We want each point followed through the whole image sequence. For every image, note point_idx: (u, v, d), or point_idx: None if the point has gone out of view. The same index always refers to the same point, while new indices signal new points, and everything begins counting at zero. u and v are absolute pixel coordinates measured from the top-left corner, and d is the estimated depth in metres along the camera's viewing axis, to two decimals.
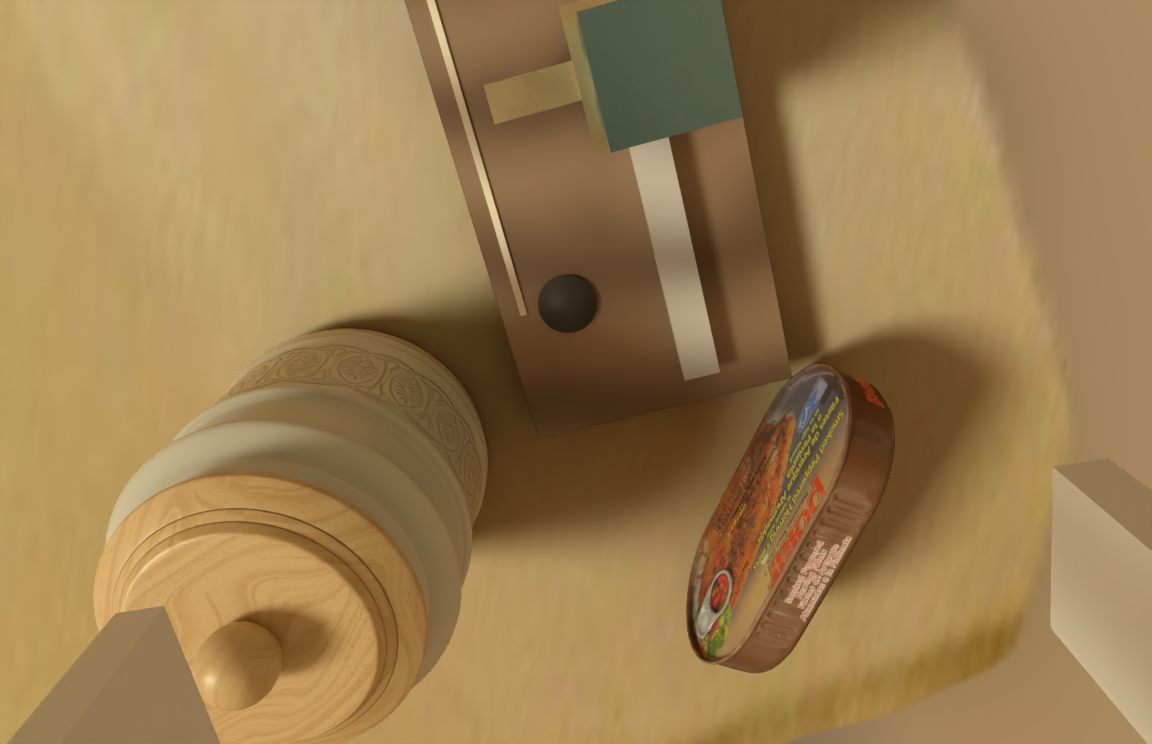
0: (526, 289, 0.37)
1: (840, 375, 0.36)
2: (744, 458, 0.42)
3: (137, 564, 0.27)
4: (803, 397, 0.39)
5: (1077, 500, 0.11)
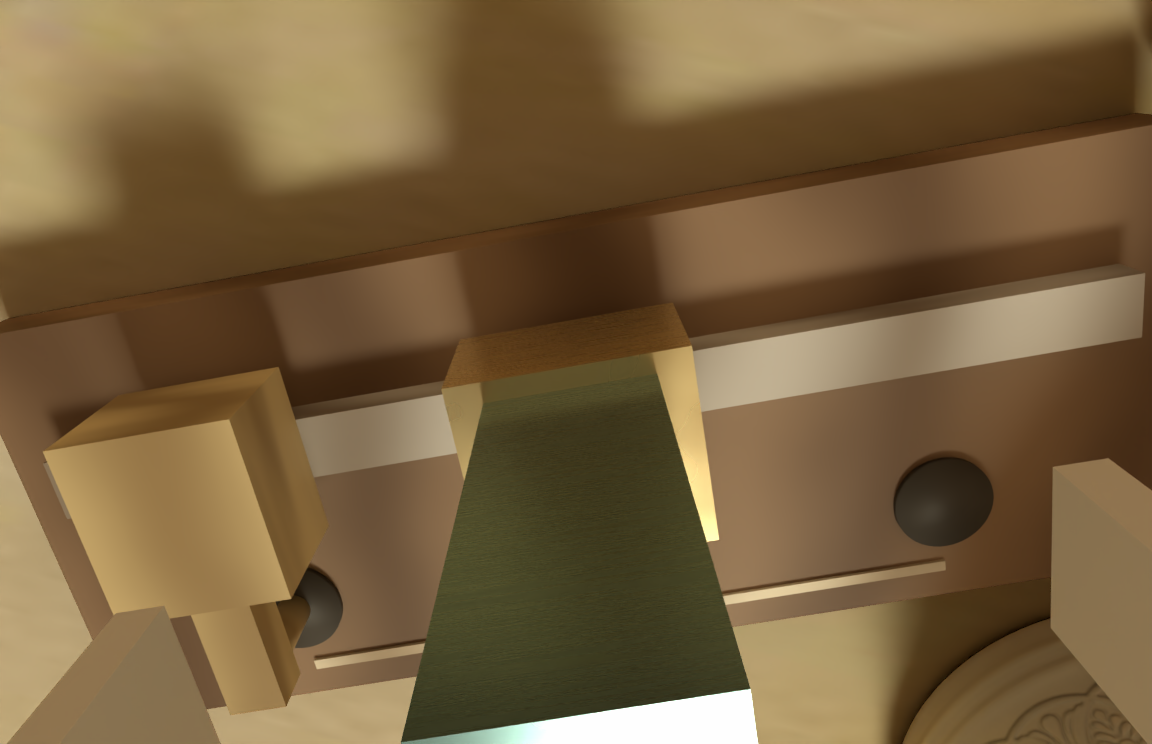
0: (904, 556, 0.24)
1: None
2: None
3: None
4: None
5: (1078, 500, 0.11)
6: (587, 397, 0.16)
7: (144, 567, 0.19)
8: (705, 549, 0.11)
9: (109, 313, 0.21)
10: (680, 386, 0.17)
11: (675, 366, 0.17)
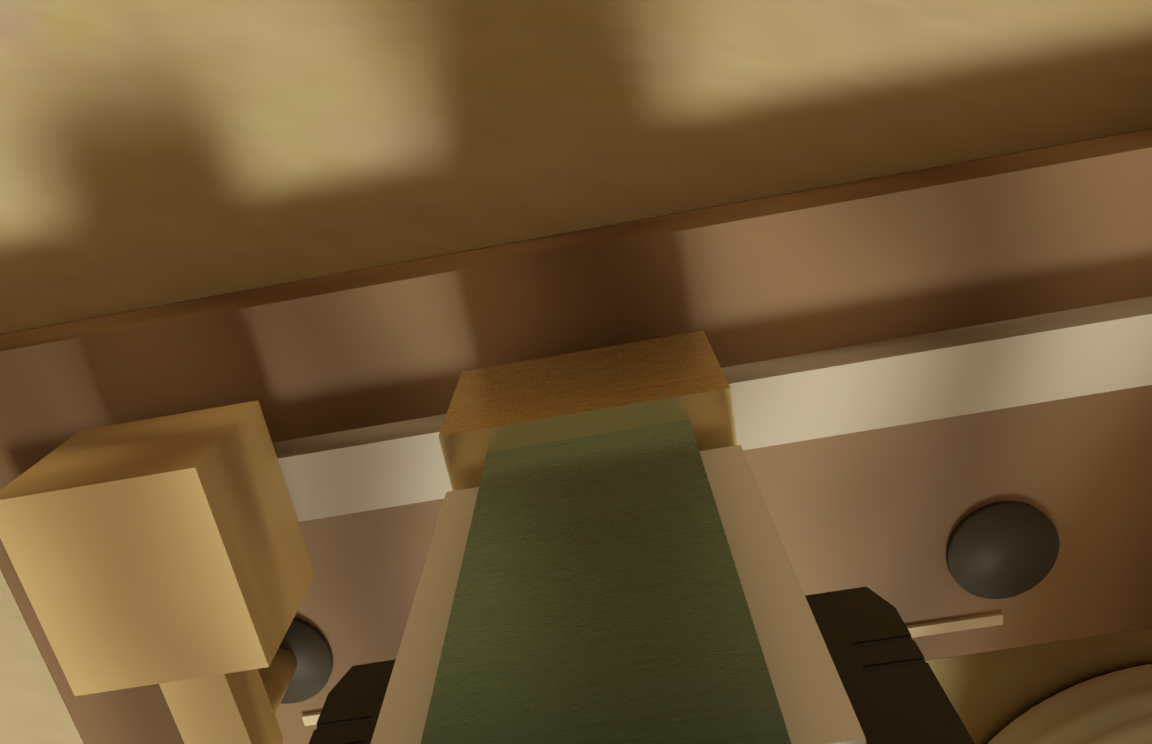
0: (956, 609, 0.21)
1: None
2: None
3: None
4: None
5: None
6: (608, 448, 0.14)
7: (102, 631, 0.16)
8: (766, 680, 0.08)
9: (71, 338, 0.19)
10: (715, 434, 0.15)
11: (711, 411, 0.14)
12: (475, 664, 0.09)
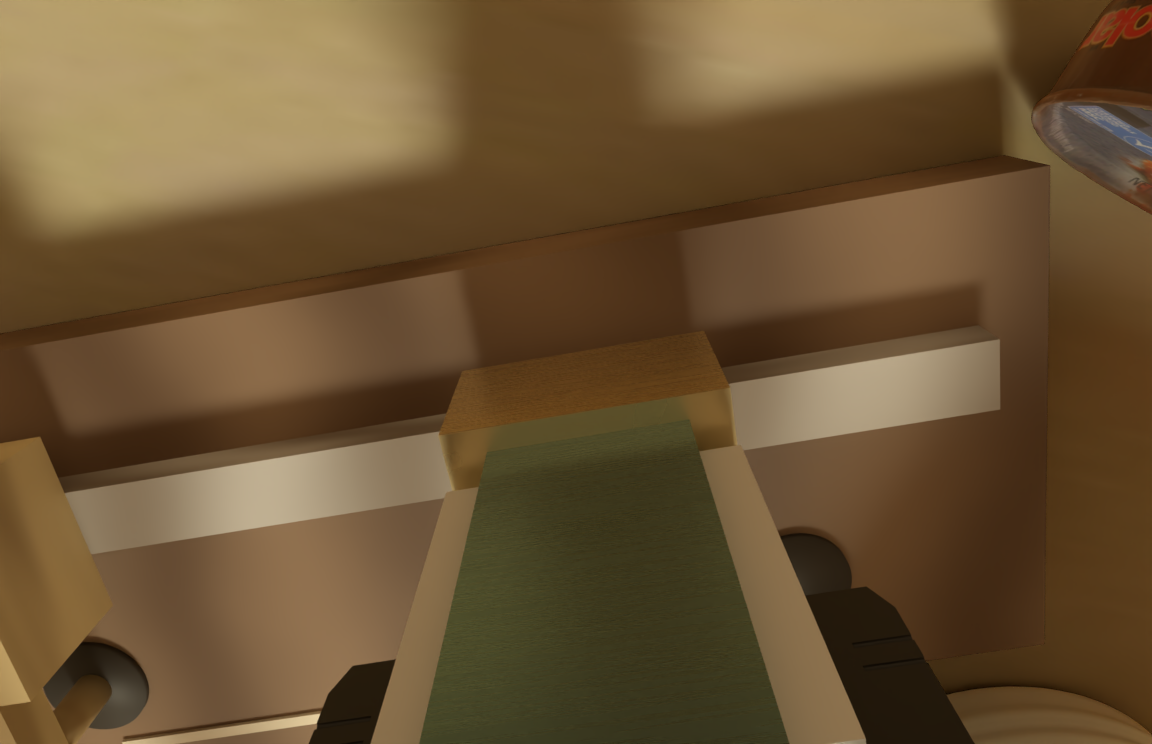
0: None
1: (1088, 97, 0.15)
2: None
3: None
4: (1104, 137, 0.17)
5: None
6: (608, 448, 0.14)
7: None
8: (765, 680, 0.08)
9: None
10: (715, 434, 0.14)
11: (710, 411, 0.14)
12: (474, 664, 0.09)
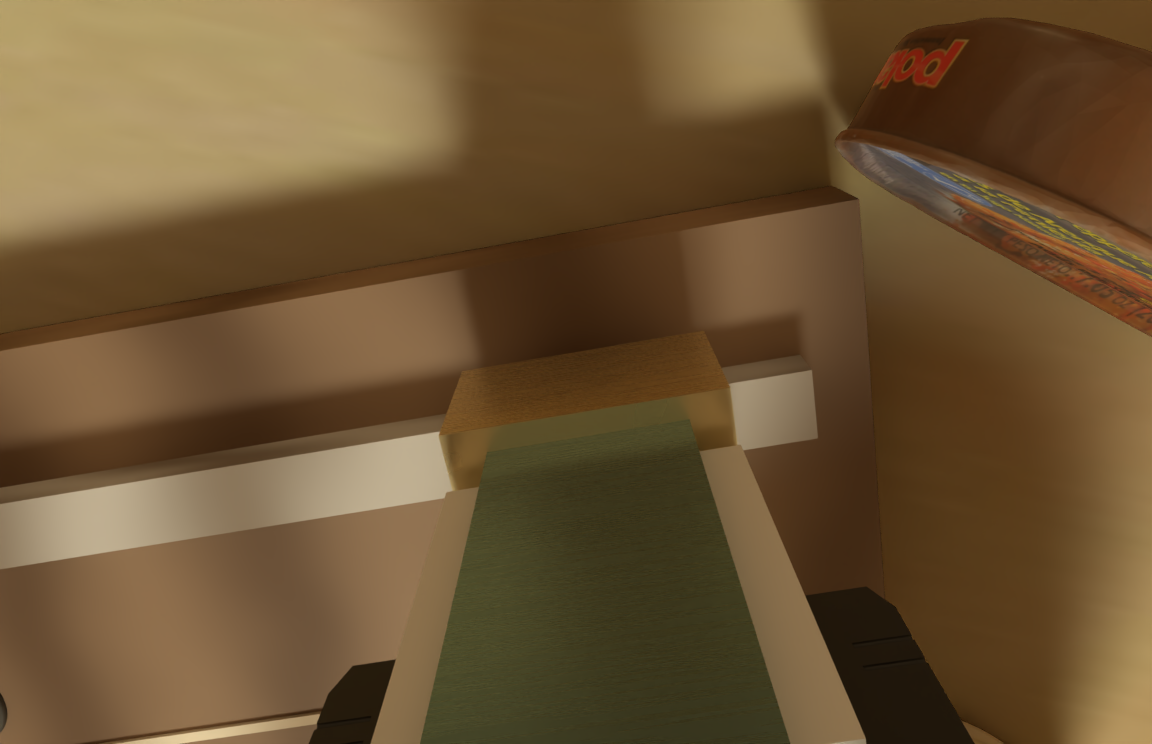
0: None
1: (860, 139, 0.15)
2: (1031, 268, 0.20)
3: None
4: (912, 172, 0.18)
5: None
6: (608, 448, 0.14)
7: None
8: (765, 680, 0.08)
9: None
10: (715, 434, 0.14)
11: (710, 411, 0.14)
12: (475, 664, 0.09)
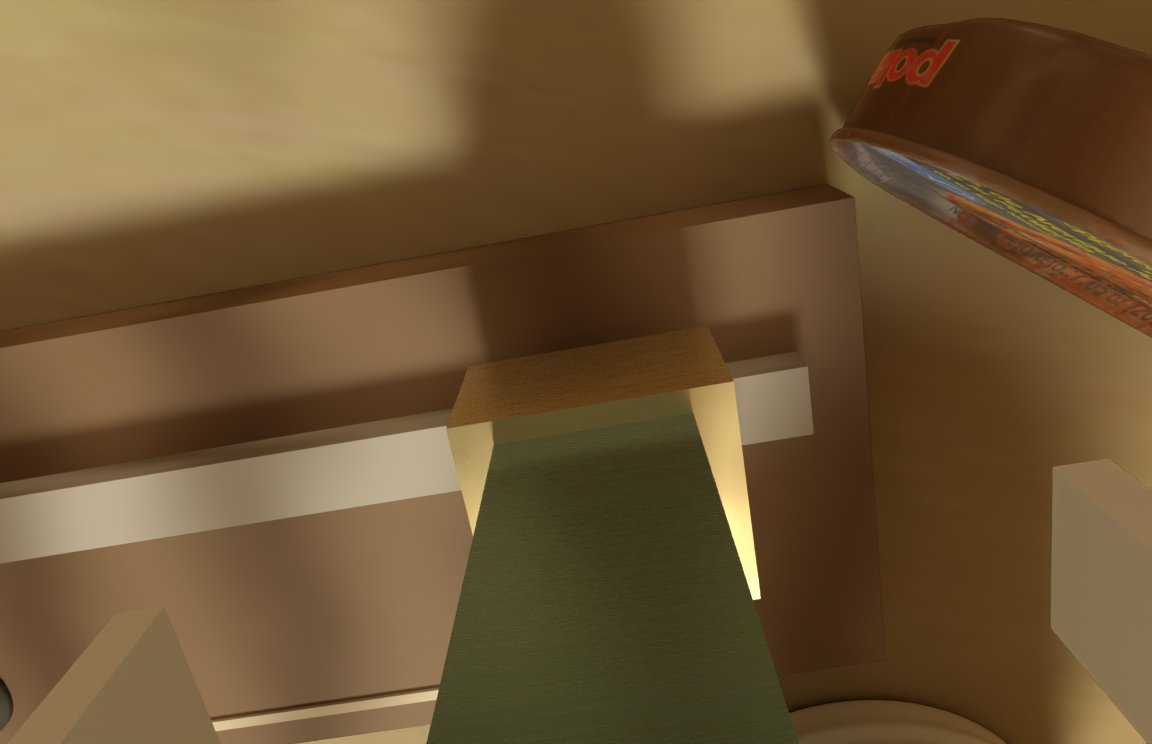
0: None
1: (853, 137, 0.15)
2: (1025, 265, 0.20)
3: None
4: (906, 170, 0.18)
5: (1077, 500, 0.11)
6: (613, 441, 0.14)
7: None
8: (768, 663, 0.09)
9: None
10: (719, 427, 0.15)
11: (714, 404, 0.15)
12: (484, 648, 0.10)
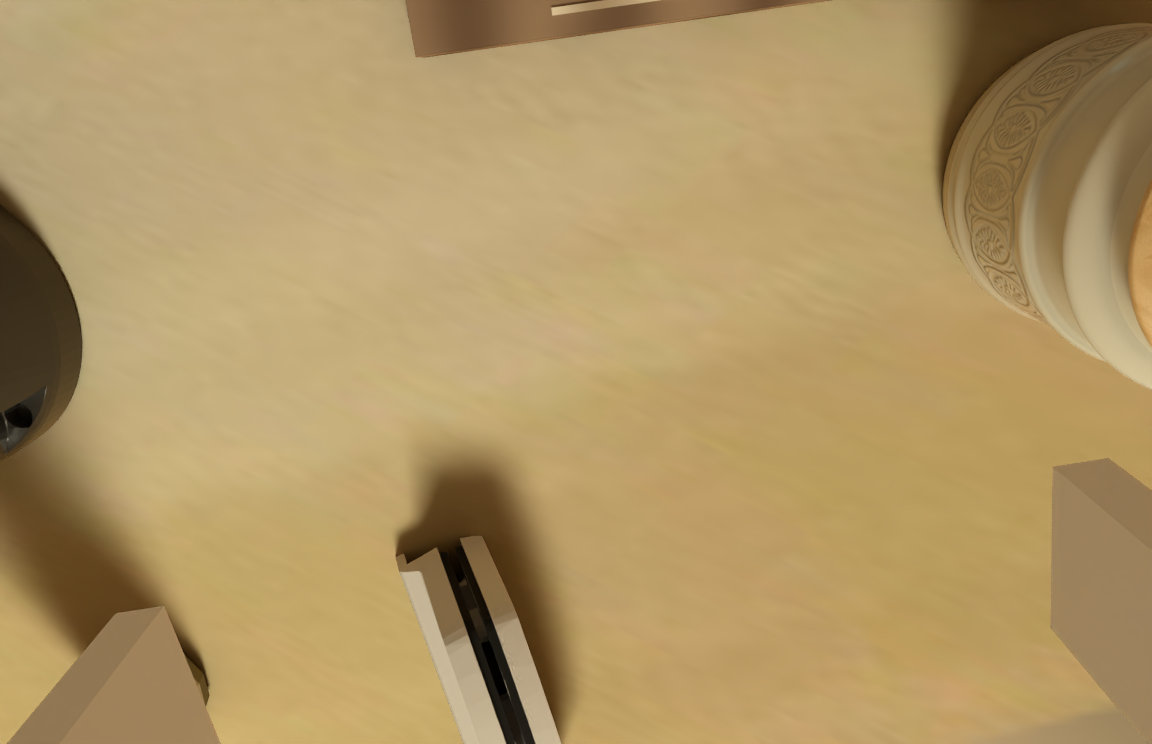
0: None
1: None
2: None
3: None
4: None
5: (1077, 500, 0.11)
6: None
7: None
8: None
9: None
10: None
11: None
12: None
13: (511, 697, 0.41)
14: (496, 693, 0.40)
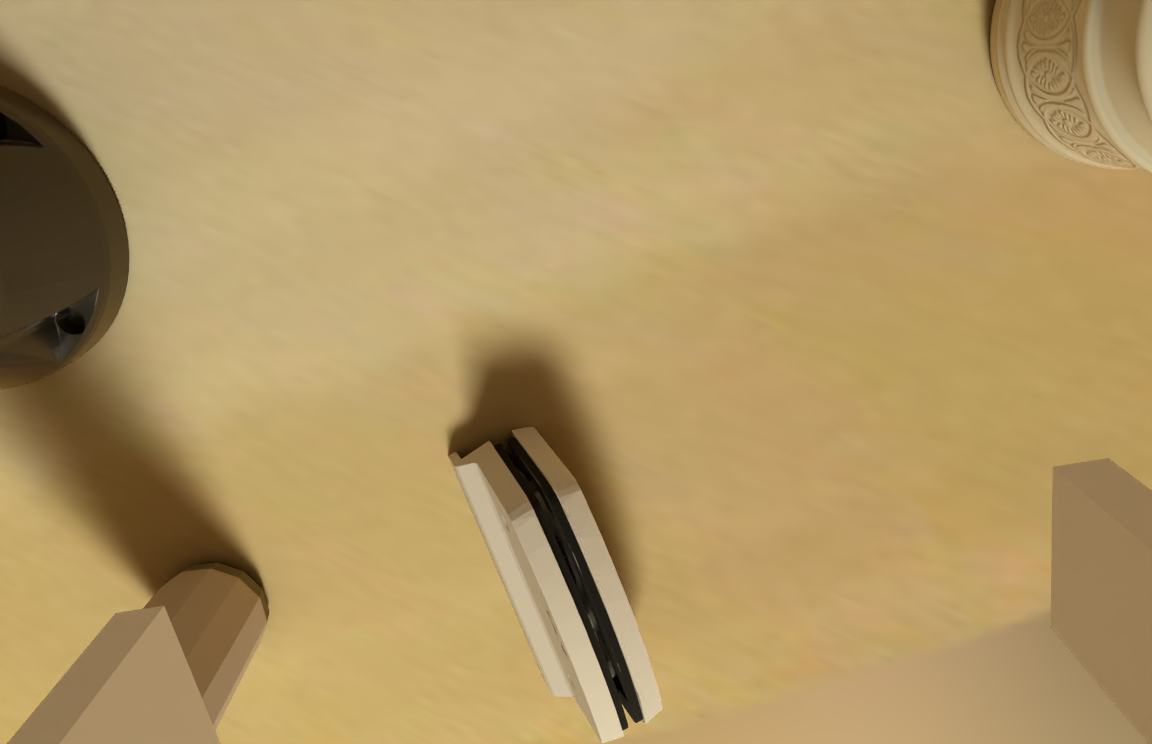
0: None
1: None
2: None
3: None
4: None
5: (1077, 500, 0.11)
6: None
7: None
8: None
9: None
10: None
11: None
12: None
13: (581, 569, 0.40)
14: (566, 566, 0.40)
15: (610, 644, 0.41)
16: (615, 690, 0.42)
